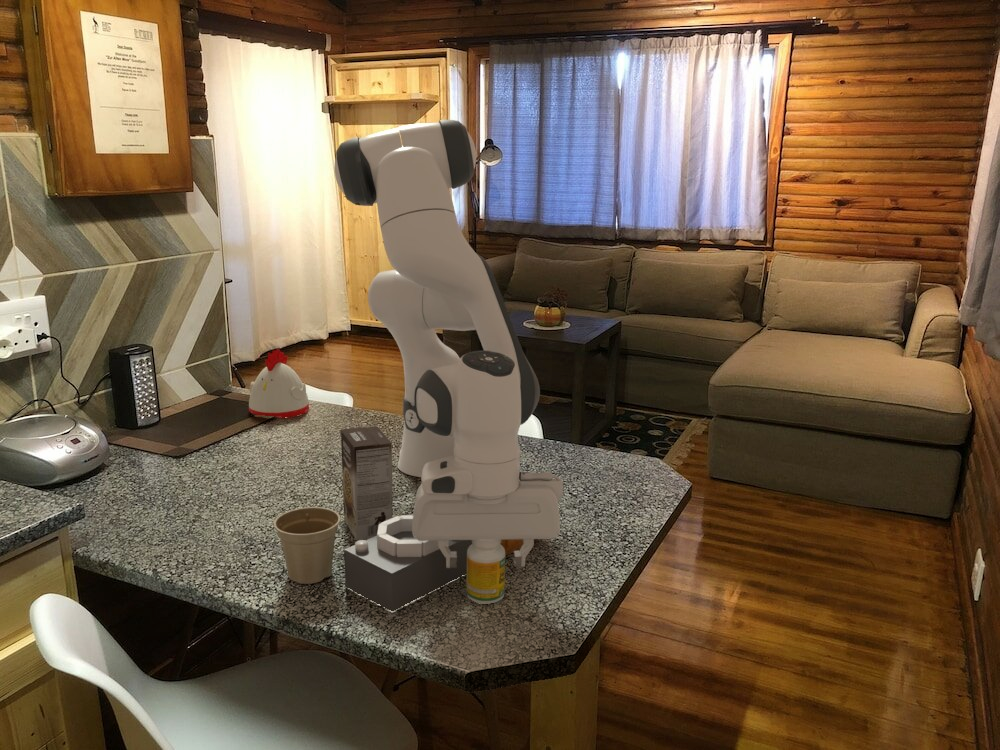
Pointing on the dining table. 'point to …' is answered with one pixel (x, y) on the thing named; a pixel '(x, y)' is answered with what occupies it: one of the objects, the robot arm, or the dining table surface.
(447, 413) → the robot arm
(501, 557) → the supplement bottle
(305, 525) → the flower pot
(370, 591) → the camera body
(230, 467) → the dining table surface
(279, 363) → the kitchen timer
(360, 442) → the coffee box
